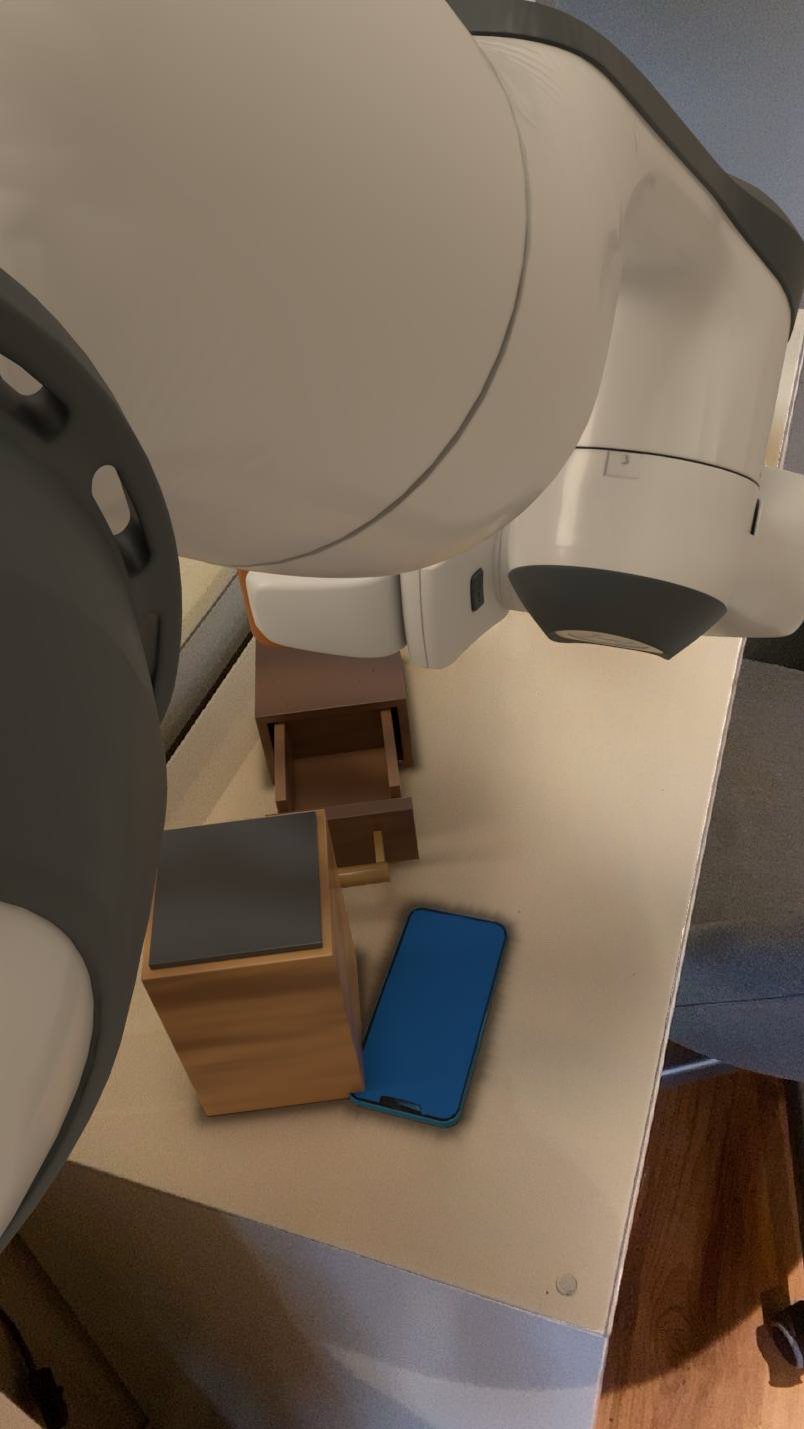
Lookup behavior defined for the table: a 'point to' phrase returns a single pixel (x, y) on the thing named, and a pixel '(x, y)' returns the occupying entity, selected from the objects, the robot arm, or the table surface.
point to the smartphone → (431, 1016)
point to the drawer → (348, 789)
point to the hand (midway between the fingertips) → (246, 488)
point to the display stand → (255, 963)
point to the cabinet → (327, 692)
